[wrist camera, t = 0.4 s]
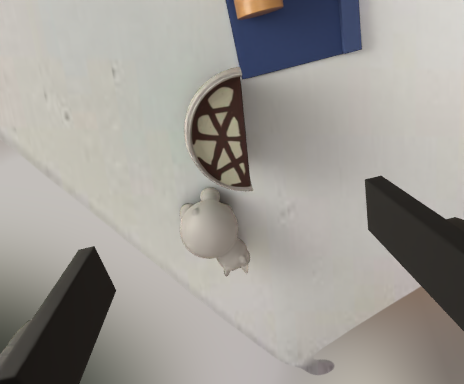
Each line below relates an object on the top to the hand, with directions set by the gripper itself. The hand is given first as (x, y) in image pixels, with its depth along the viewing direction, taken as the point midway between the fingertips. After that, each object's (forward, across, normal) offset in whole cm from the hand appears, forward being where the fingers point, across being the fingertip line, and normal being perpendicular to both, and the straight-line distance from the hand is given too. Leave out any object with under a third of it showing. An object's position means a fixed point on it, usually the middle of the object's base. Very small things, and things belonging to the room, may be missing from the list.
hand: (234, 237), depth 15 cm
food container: (+26, 0, +1) cm, 26 cm away
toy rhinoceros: (+26, -3, -13) cm, 30 cm away
